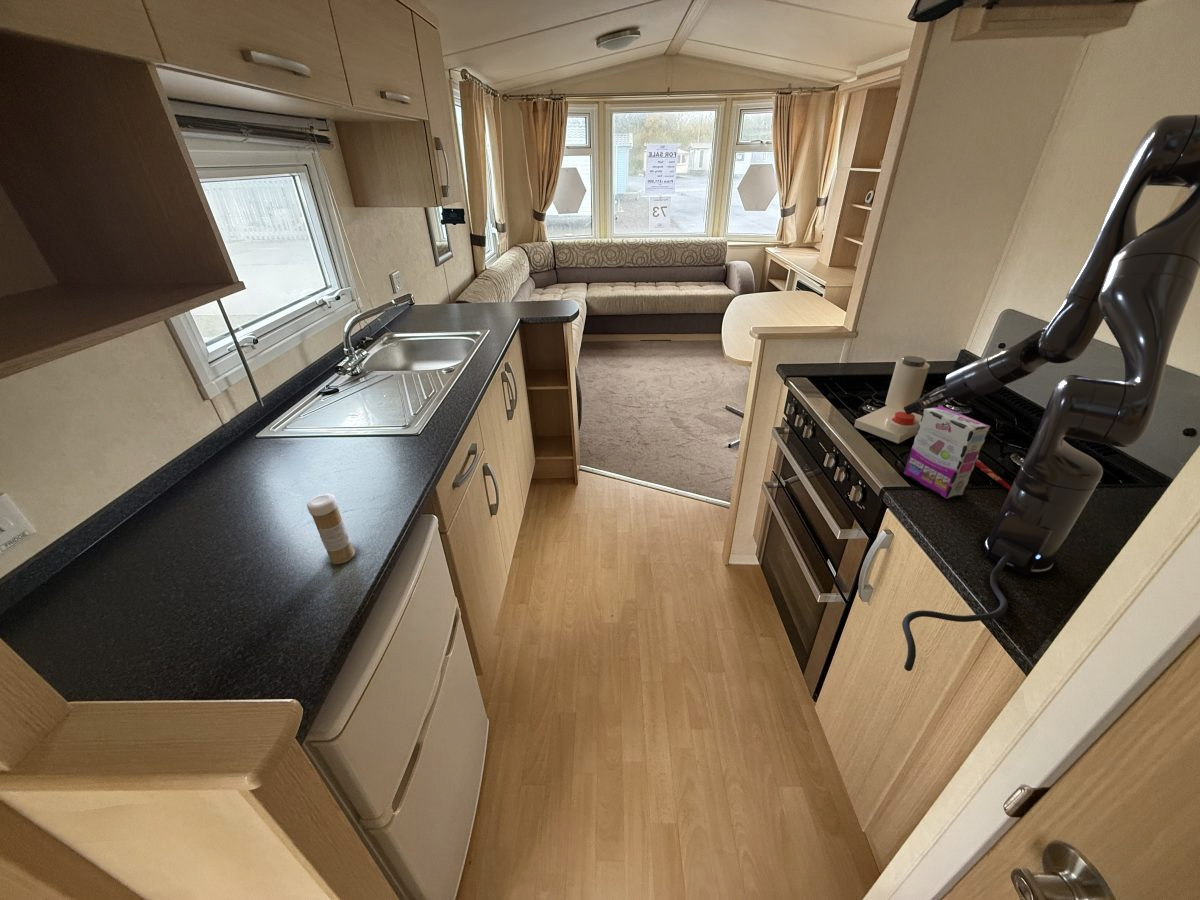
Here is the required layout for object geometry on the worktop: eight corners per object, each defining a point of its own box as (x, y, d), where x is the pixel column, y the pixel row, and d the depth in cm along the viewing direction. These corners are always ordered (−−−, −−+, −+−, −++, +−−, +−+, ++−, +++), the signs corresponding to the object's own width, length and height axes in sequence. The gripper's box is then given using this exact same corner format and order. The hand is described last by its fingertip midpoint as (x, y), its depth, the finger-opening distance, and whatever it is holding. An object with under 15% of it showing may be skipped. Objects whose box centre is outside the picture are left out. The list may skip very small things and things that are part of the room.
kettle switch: (906, 427, 121) (909, 420, 120) (889, 421, 124) (891, 414, 123) (916, 423, 123) (918, 415, 122) (898, 417, 126) (900, 410, 125)
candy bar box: (964, 495, 101) (992, 426, 93) (946, 500, 100) (973, 430, 92) (919, 469, 111) (941, 404, 103) (902, 473, 110) (923, 408, 101)
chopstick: (1022, 504, 98) (1024, 500, 97) (950, 447, 119) (951, 443, 118) (1032, 503, 98) (1034, 500, 97) (958, 446, 118) (959, 443, 118)
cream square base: (902, 445, 120) (907, 431, 118) (853, 426, 130) (857, 413, 128) (935, 428, 128) (940, 414, 126) (886, 411, 138) (890, 398, 136)
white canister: (907, 413, 127) (921, 366, 121) (879, 404, 133) (891, 358, 126) (922, 406, 131) (937, 359, 124) (894, 397, 136) (907, 352, 130)
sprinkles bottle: (335, 550, 94) (312, 493, 87) (359, 548, 94) (338, 491, 88) (326, 566, 90) (301, 508, 83) (351, 564, 90) (328, 506, 84)
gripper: (981, 358, 111) (912, 391, 126) (953, 371, 105) (884, 404, 120) (1000, 386, 109) (927, 416, 125) (972, 401, 103) (900, 430, 119)
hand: (906, 410), depth 122 cm, fingers closed
